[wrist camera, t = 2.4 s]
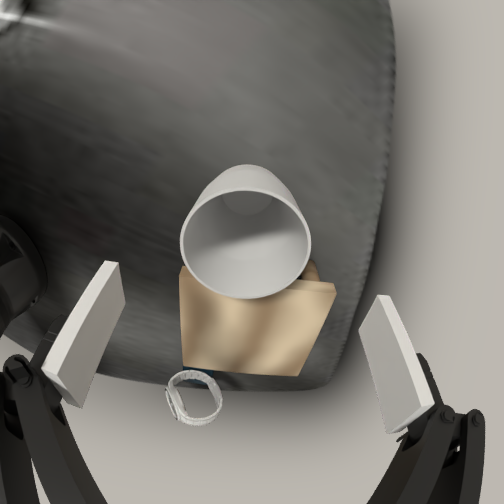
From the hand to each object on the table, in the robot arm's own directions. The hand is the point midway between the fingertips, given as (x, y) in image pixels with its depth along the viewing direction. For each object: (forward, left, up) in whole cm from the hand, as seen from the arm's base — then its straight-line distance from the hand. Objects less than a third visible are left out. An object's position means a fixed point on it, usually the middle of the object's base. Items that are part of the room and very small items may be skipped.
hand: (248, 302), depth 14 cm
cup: (0, 0, -15) cm, 15 cm away
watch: (-4, -26, -15) cm, 31 cm away
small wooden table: (+2, -13, -15) cm, 20 cm away
